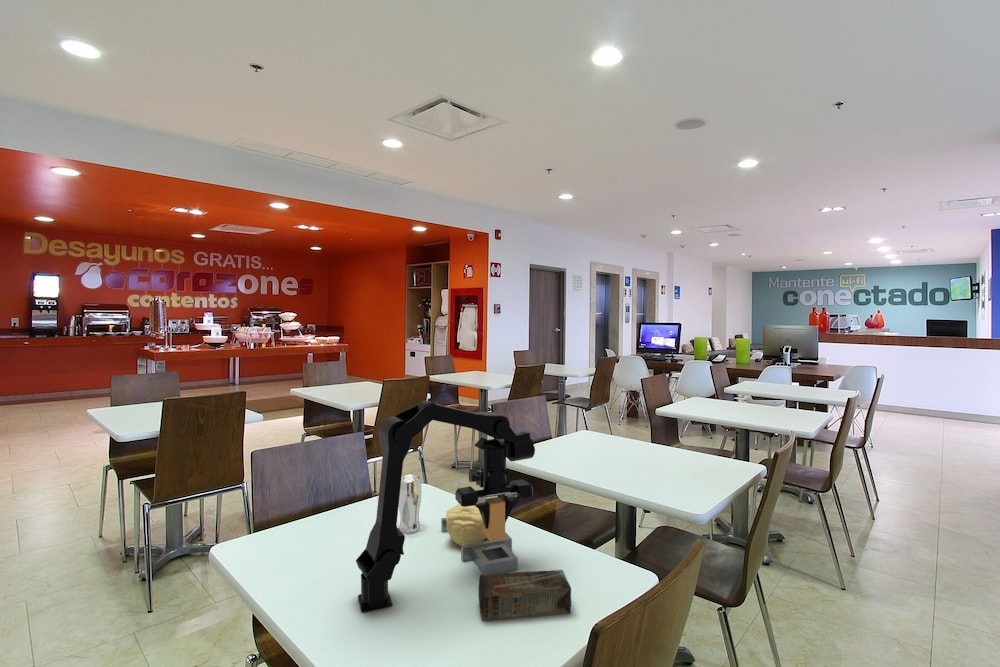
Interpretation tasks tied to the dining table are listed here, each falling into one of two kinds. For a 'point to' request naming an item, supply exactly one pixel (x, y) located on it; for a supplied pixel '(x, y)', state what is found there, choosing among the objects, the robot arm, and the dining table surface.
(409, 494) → the beer glass
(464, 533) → the sculpture
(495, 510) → the orange rectangular block
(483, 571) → the grey flat openwork piece
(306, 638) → the dining table surface
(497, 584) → the beverage carton
